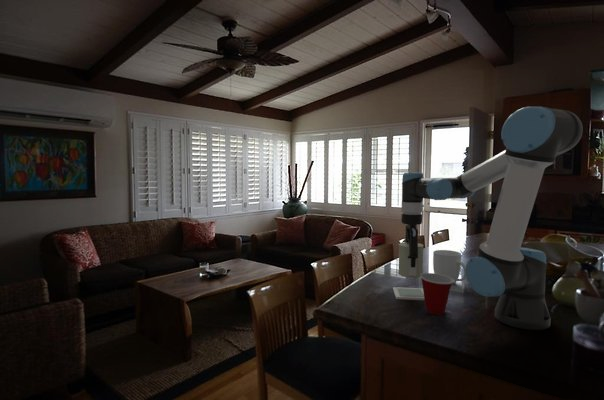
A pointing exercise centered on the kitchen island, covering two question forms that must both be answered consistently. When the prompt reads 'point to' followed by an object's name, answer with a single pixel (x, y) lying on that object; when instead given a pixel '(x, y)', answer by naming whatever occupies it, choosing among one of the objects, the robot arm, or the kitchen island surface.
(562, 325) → the kitchen island surface
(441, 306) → the plastic cup
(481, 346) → the kitchen island surface
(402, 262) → the can
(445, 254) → the mug
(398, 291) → the square picture frame
